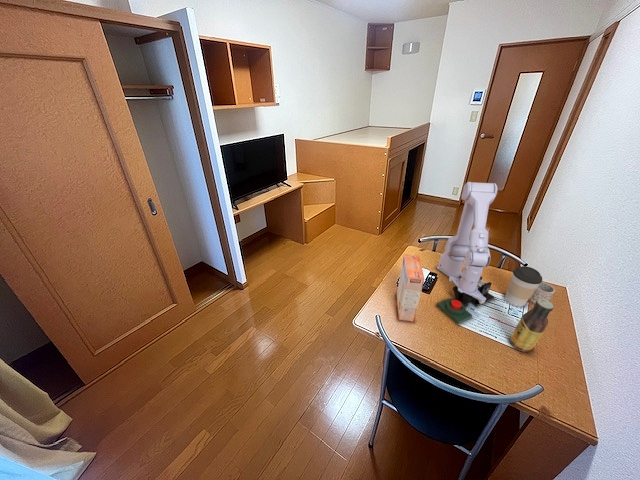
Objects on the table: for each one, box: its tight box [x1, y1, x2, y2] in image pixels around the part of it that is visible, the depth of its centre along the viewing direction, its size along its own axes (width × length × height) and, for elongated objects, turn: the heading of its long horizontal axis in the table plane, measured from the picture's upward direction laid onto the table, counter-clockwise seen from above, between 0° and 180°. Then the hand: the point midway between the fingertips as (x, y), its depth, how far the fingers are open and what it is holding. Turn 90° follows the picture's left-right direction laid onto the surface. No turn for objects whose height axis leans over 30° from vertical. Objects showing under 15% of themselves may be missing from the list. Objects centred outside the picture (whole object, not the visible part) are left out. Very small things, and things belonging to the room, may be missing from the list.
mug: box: [528, 281, 556, 304], centre depth 103 cm, size 10×7×7 cm
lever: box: [460, 279, 487, 303], centre depth 102 cm, size 12×3×3 cm, turn 113°
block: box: [436, 297, 473, 325], centre depth 98 cm, size 10×7×4 cm
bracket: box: [463, 276, 495, 308], centre depth 104 cm, size 10×8×8 cm
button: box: [450, 299, 463, 310], centre depth 97 cm, size 4×4×2 cm
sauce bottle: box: [509, 299, 555, 353], centre depth 81 cm, size 6×6×20 cm
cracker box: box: [396, 253, 425, 323], centre depth 97 cm, size 14×6×21 cm, turn 168°
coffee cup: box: [504, 265, 543, 307], centre depth 100 cm, size 9×9×15 cm
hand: (460, 304), depth 103 cm, fingers closed on lever, 2 cm apart
